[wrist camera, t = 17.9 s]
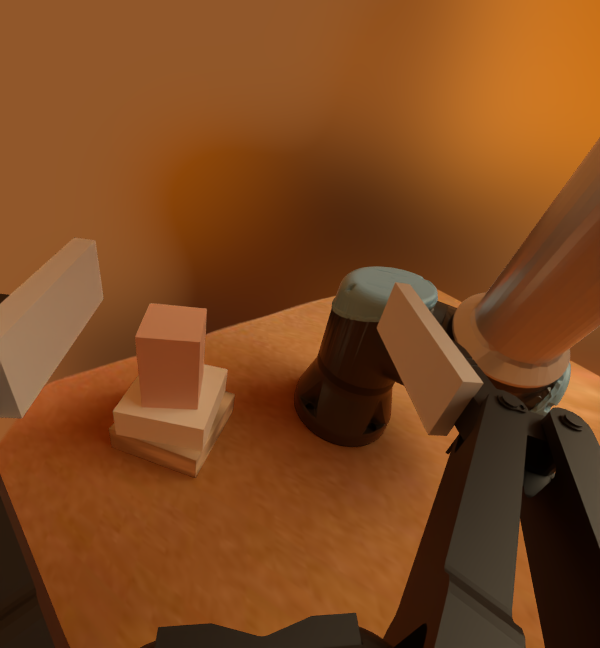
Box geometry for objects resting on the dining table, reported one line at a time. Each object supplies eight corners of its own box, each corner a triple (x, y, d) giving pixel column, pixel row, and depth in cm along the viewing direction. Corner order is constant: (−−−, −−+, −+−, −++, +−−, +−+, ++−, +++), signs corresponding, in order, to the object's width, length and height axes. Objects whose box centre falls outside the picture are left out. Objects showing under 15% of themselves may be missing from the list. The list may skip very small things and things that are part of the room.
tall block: (154, 369, 43) (150, 303, 37) (203, 372, 44) (206, 308, 39) (142, 407, 38) (134, 337, 33) (197, 409, 39) (200, 342, 34)
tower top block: (154, 375, 48) (153, 353, 45) (225, 390, 48) (227, 369, 46) (116, 434, 39) (112, 411, 37) (202, 451, 40) (203, 429, 38)
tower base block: (163, 389, 51) (162, 369, 49) (232, 413, 50) (234, 394, 48) (112, 449, 42) (108, 428, 40) (195, 480, 41) (196, 460, 39)
